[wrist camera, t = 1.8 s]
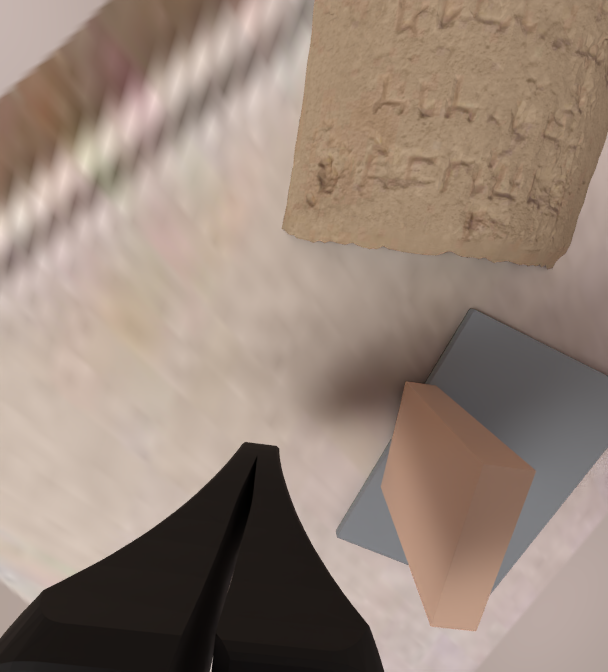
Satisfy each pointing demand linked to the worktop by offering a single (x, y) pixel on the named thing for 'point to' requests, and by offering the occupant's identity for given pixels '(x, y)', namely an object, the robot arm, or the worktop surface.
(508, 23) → the clay tablet
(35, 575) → the worktop surface
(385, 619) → the worktop surface
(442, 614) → the tile
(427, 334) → the worktop surface
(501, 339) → the mat
